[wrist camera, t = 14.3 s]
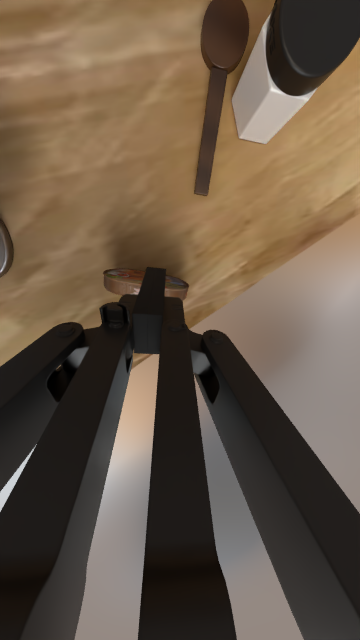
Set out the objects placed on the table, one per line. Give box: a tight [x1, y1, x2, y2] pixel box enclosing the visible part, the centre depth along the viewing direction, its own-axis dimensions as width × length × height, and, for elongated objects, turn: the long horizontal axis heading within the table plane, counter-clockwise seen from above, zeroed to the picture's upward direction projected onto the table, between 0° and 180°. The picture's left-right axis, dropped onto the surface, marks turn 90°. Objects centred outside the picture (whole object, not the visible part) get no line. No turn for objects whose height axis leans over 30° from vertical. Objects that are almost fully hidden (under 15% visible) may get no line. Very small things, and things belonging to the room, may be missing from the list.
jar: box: [232, 0, 360, 144], centre depth 20 cm, size 9×8×12 cm
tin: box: [103, 268, 189, 301], centre depth 31 cm, size 15×3×8 cm, turn 79°
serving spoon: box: [194, 0, 249, 196], centre depth 25 cm, size 20×6×1 cm, turn 172°
